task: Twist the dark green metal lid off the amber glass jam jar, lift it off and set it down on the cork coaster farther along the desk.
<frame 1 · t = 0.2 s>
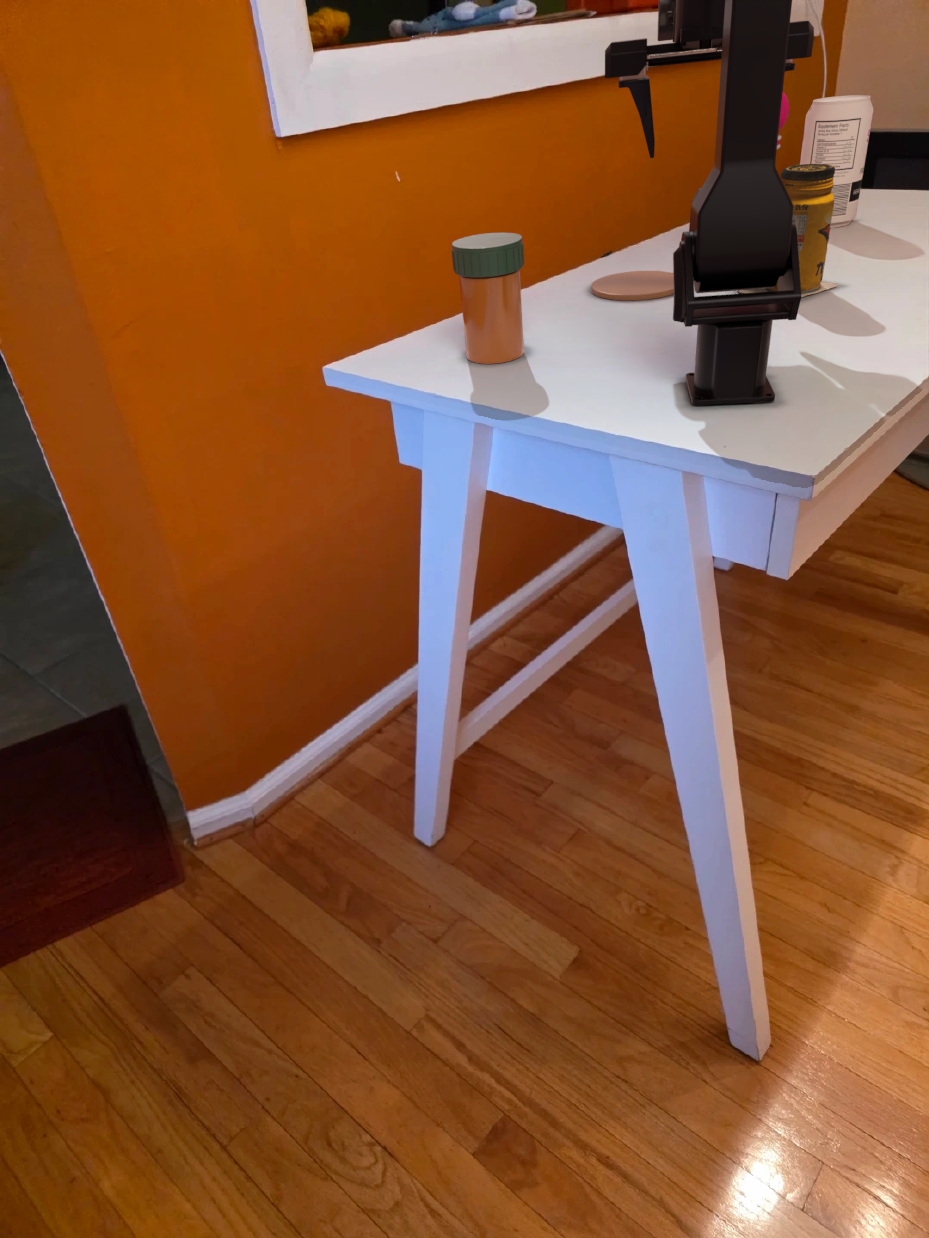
hand: (698, 153, 83), 14 cm above the table, tool pointing down, fingers open, 9 cm apart
jam lid: (487, 245, 77), point 10 cm above the table, screwed on, not yet turned
jam jar: (495, 354, 83), on the table
pink tall rounded piece: (746, 261, 104), on the table
coaster: (637, 287, 98), on the table
supplement can: (823, 224, 116), on the table
condiment: (785, 291, 92), on the table
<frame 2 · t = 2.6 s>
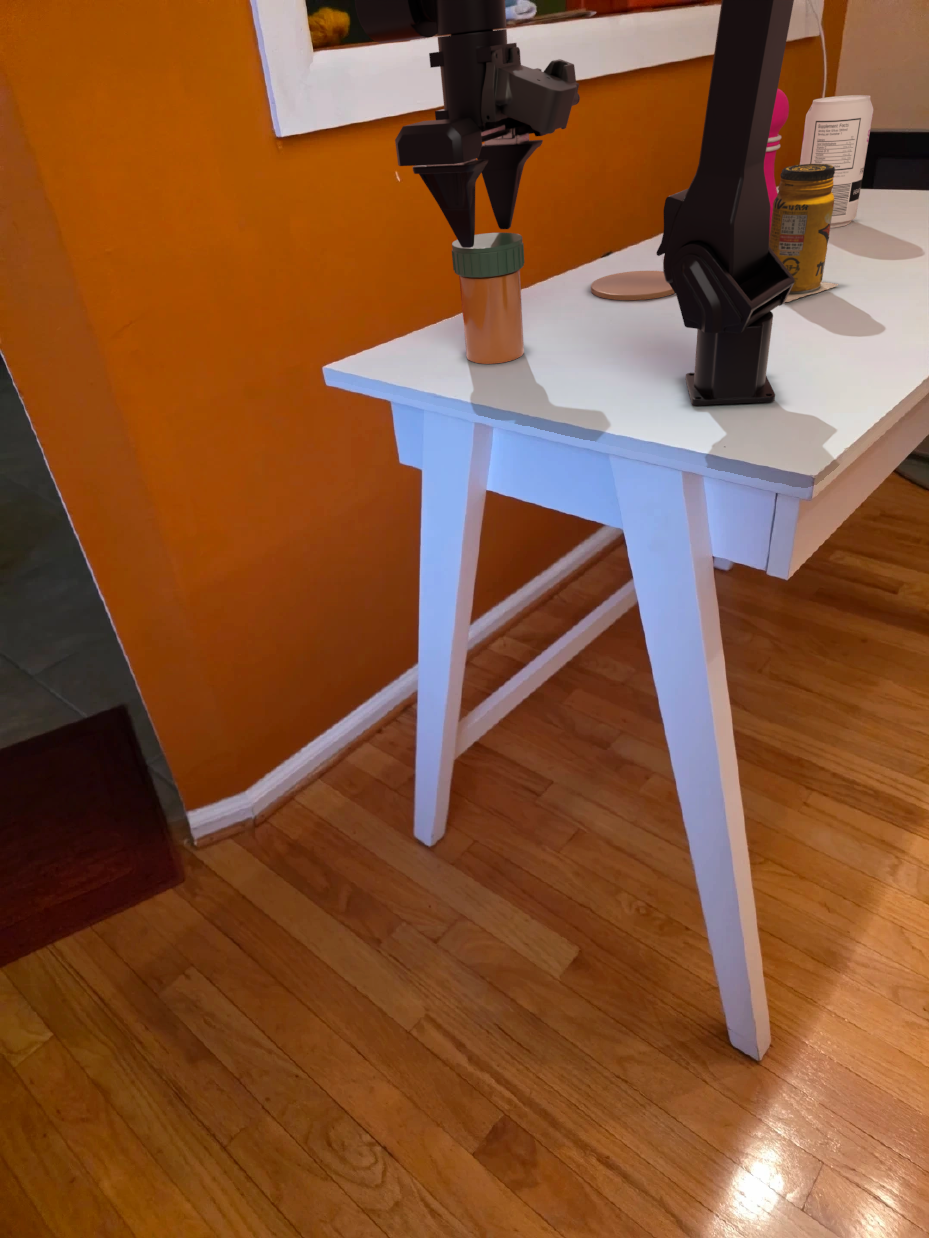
hand: (487, 238, 76), 11 cm above the table, tool pointing down, fingers open, 7 cm apart
nothing on the table moved.
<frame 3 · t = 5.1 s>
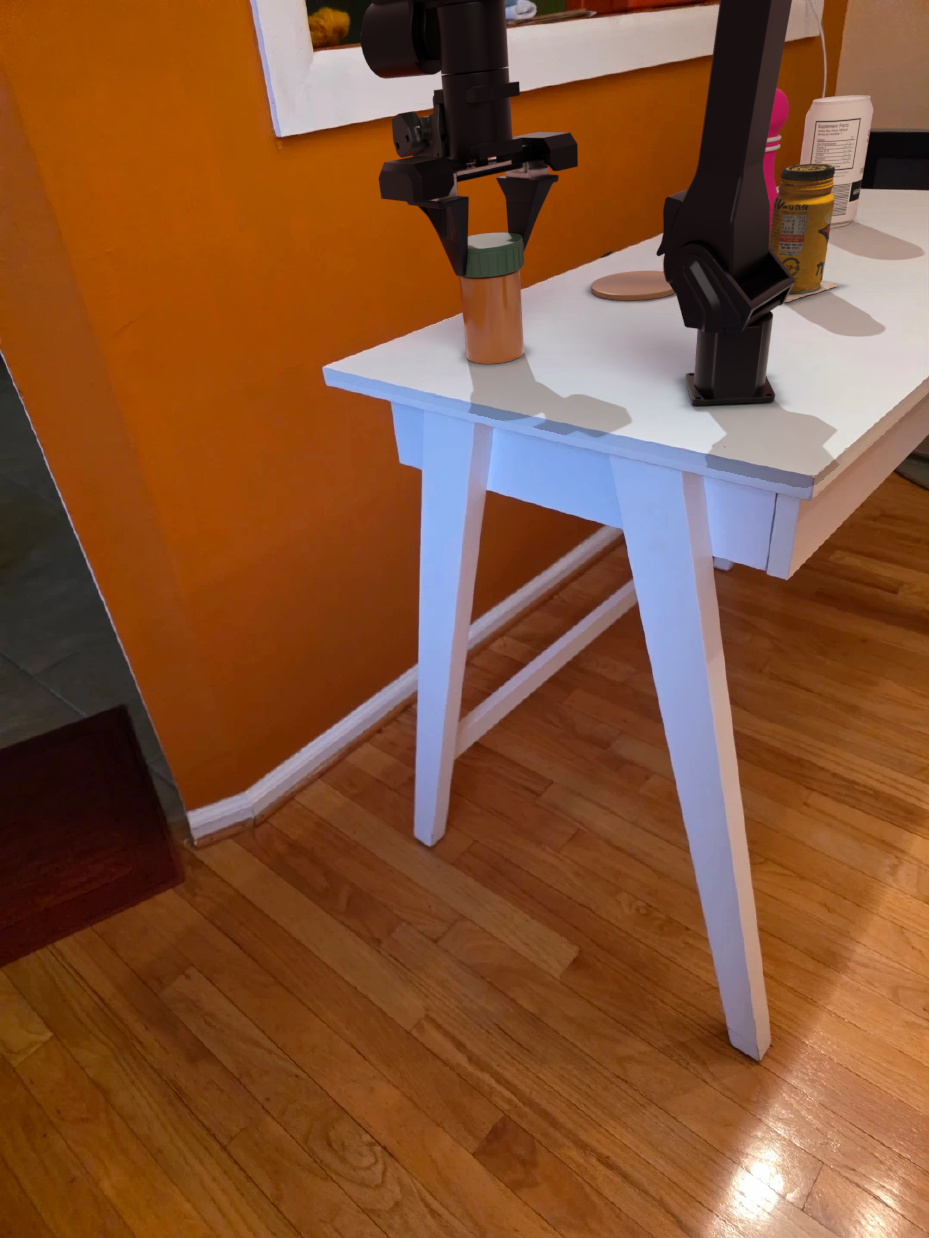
hand: (489, 268, 78), 8 cm above the table, tool pointing down, fingers closed on jam lid, 6 cm apart
jam lid: (487, 245, 77), point 10 cm above the table, screwed on, not yet turned, touching gripper
everything else where it was.
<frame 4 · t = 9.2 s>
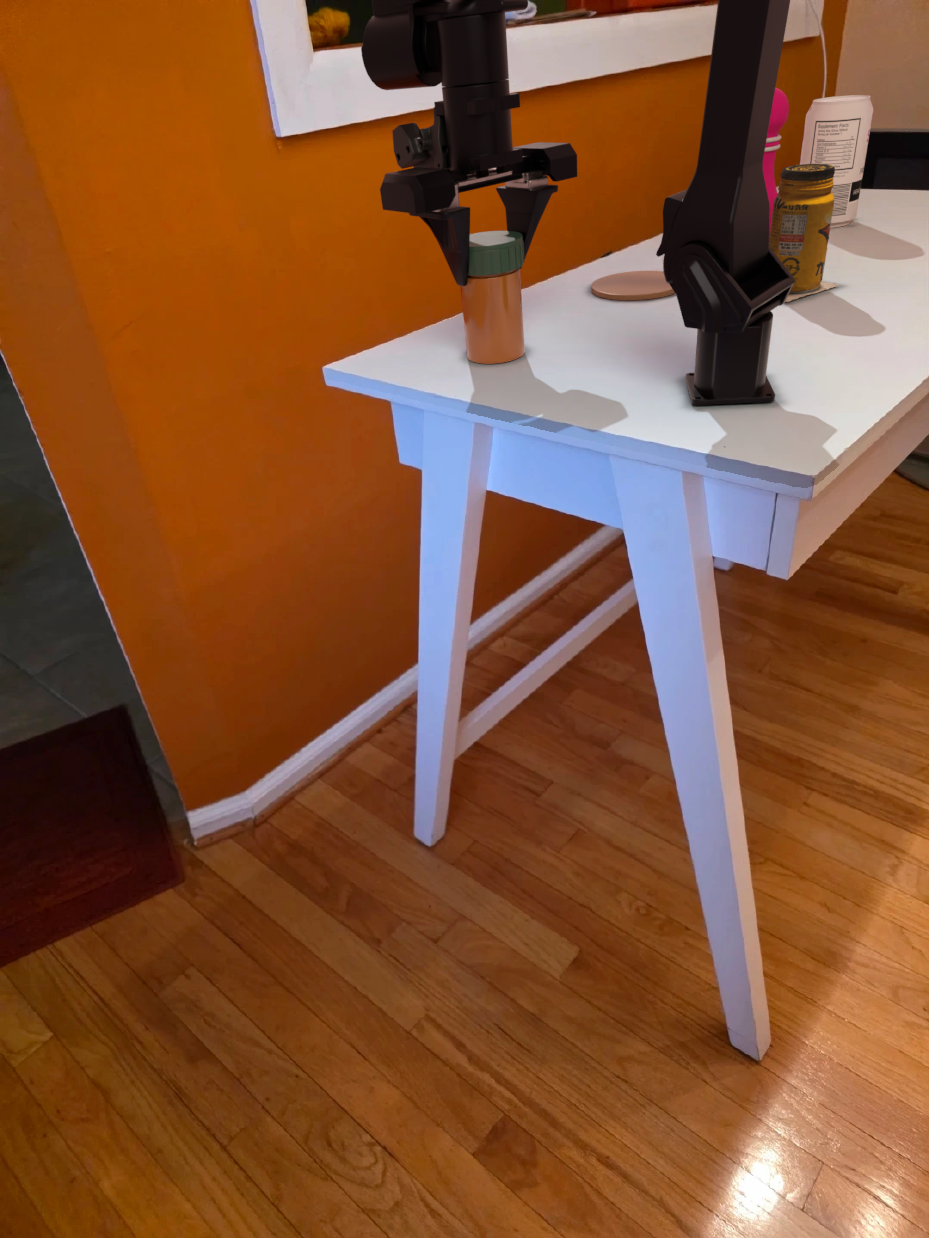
hand: (489, 277, 78), 7 cm above the table, tool pointing down, fingers closed on jam lid, 6 cm apart
jam lid: (487, 243, 77), point 10 cm above the table, turned 50° so far, risen 0.1 cm, still on its thread, touching gripper
everything else where it was.
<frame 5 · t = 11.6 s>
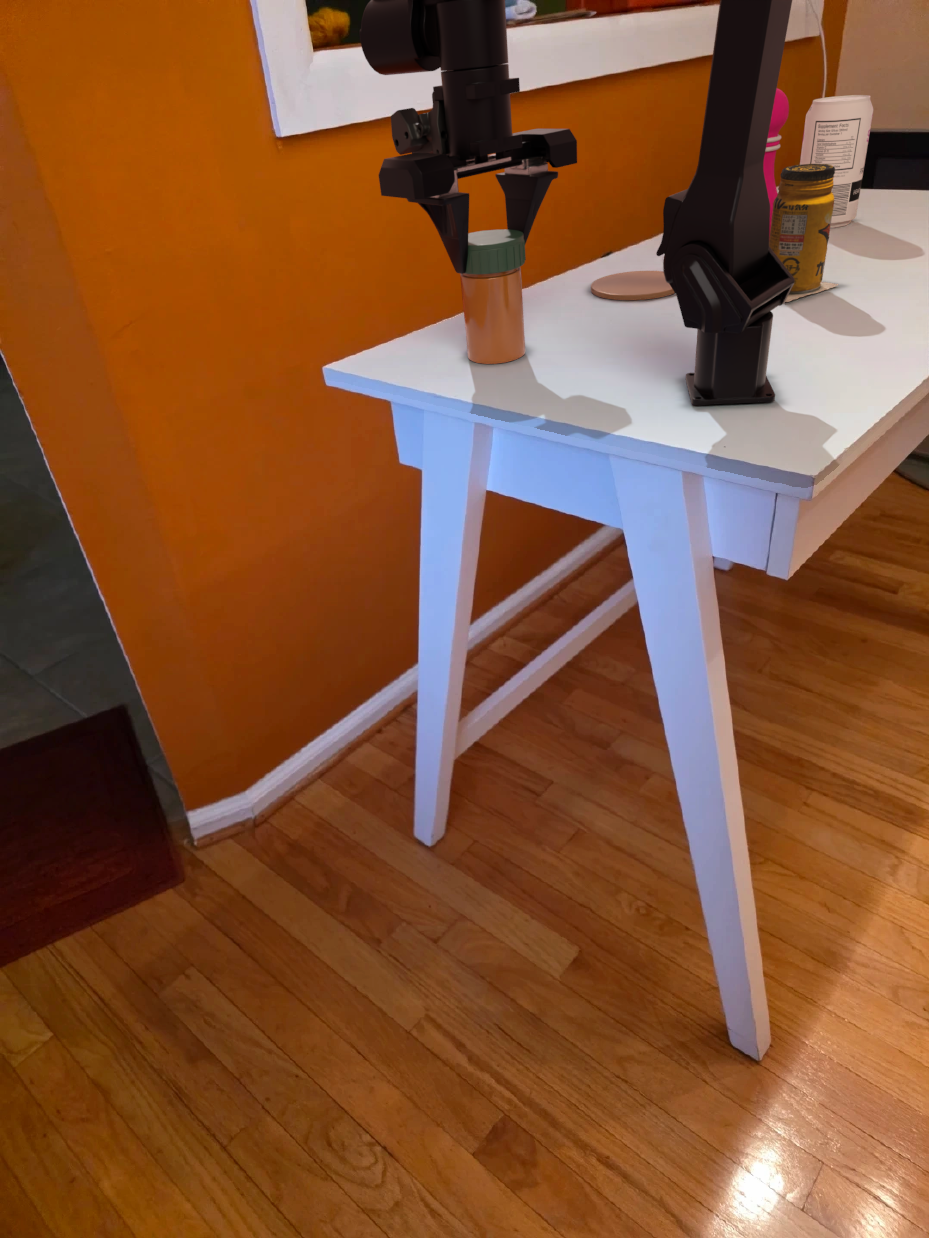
hand: (489, 265, 78), 9 cm above the table, tool pointing down, fingers closed on jam lid, 6 cm apart
jam lid: (488, 241, 77), point 11 cm above the table, turned 95° so far, risen 0.3 cm, still on its thread, touching gripper
everything else where it was.
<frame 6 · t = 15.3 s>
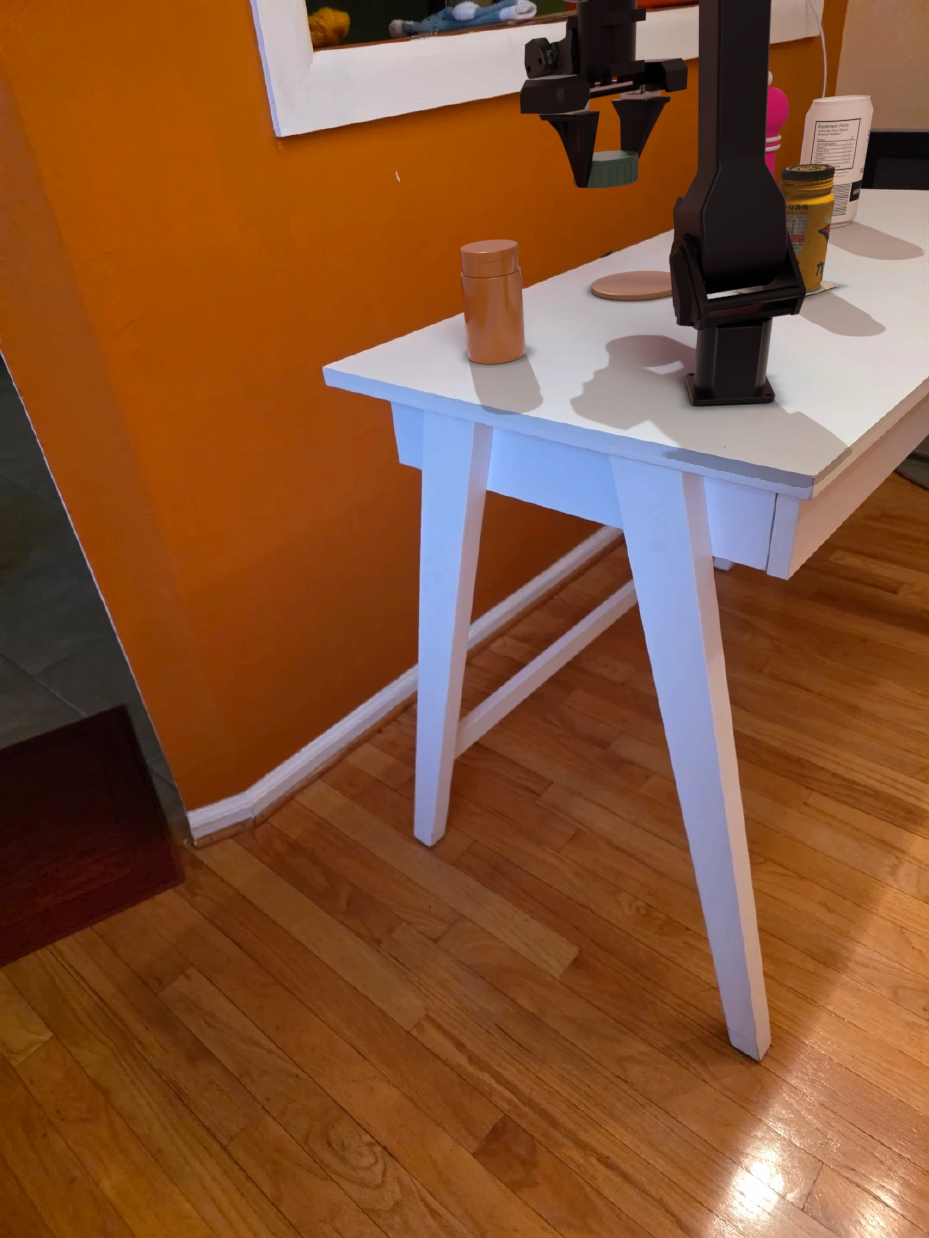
hand: (605, 182, 87), 12 cm above the table, tool pointing down, fingers closed on jam lid, 6 cm apart
jam lid: (605, 160, 86), point 14 cm above the table, off its thread, touching gripper
everything else where it was.
when the fingers open (1 cm above the table, at t = 19.0 s): jam lid stays where it is, resting on coaster.
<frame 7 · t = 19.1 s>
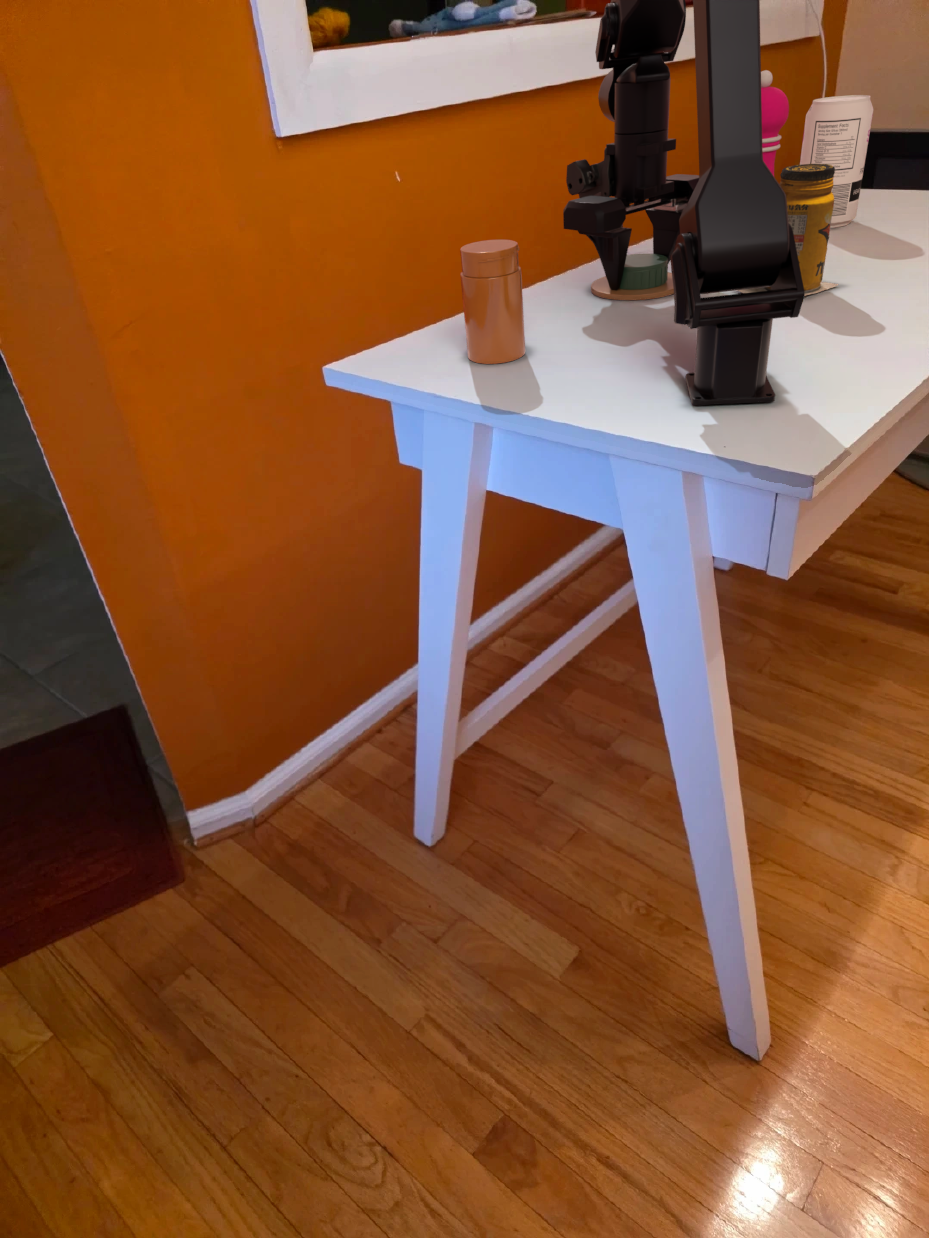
hand: (636, 282, 98), 1 cm above the table, tool pointing down, fingers open, 7 cm apart
jam lid: (638, 263, 96), point 3 cm above the table, off its thread, touching coaster
everything else where it was.
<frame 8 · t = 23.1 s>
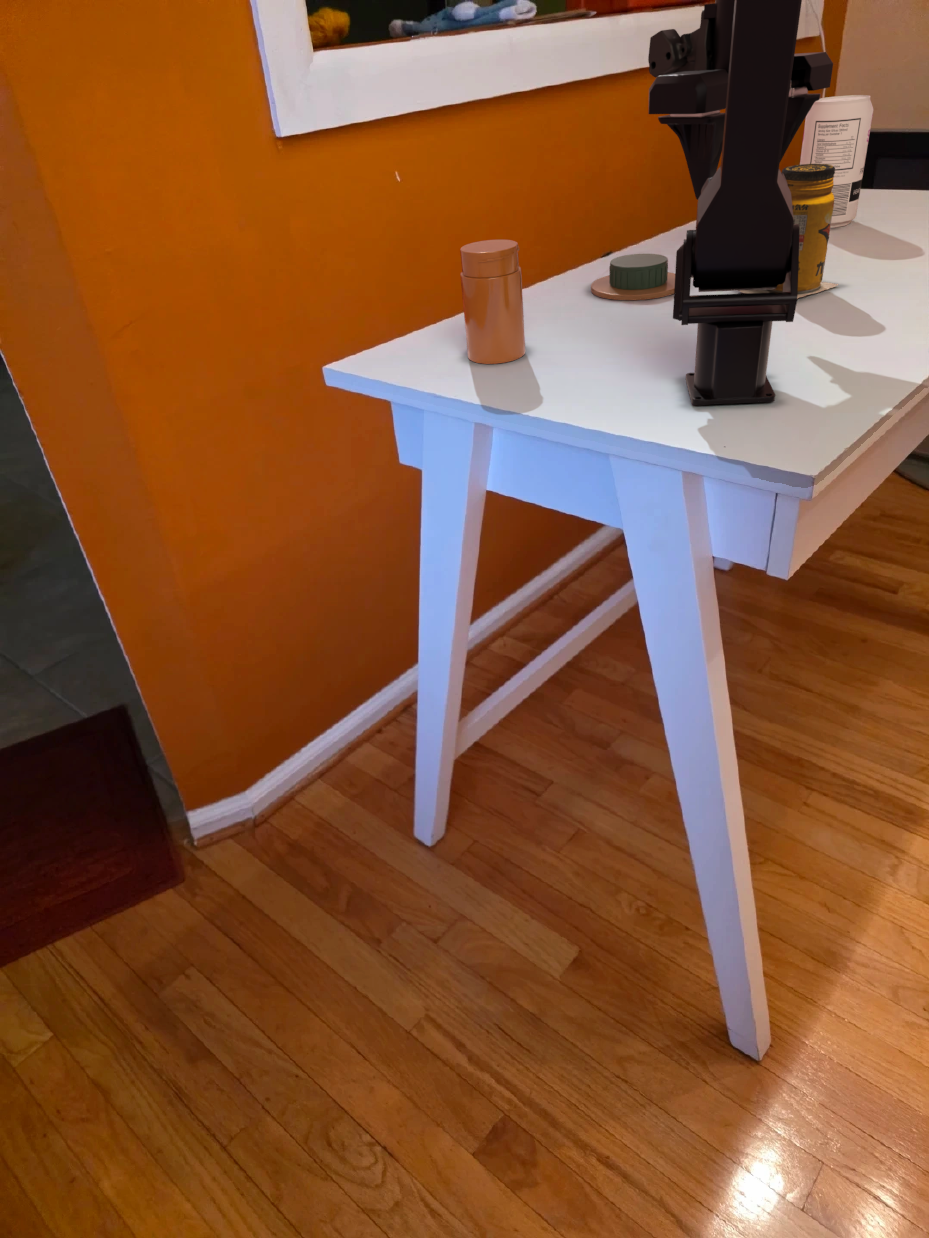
hand: (733, 191, 78), 12 cm above the table, tool pointing down, fingers open, 9 cm apart
nothing on the table moved.
at the end: jam lid came off its thread; jam lid inside the target area on the coaster (0.1 cm from its centre), point 2.7 cm above the coaster's base; the gripper is holding nothing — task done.
